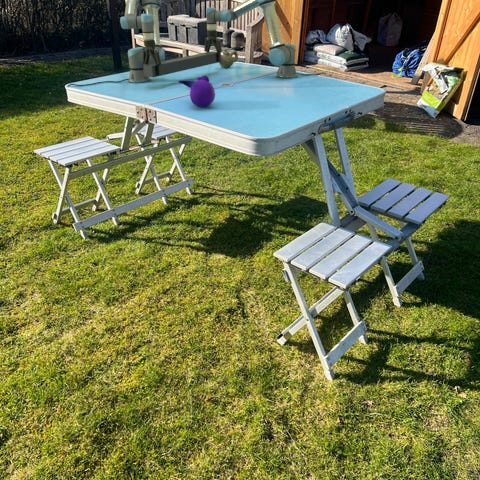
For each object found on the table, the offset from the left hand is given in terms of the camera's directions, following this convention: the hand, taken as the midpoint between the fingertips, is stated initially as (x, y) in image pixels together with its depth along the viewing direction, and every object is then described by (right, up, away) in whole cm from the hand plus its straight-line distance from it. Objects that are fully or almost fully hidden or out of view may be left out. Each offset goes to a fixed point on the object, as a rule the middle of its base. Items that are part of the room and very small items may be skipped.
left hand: (153, 74), depth 311 cm
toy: (+36, -33, -39) cm, 62 cm away
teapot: (+49, +32, +71) cm, 92 cm away
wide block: (+20, +13, +23) cm, 33 cm away
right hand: (+40, +27, +45) cm, 66 cm away
